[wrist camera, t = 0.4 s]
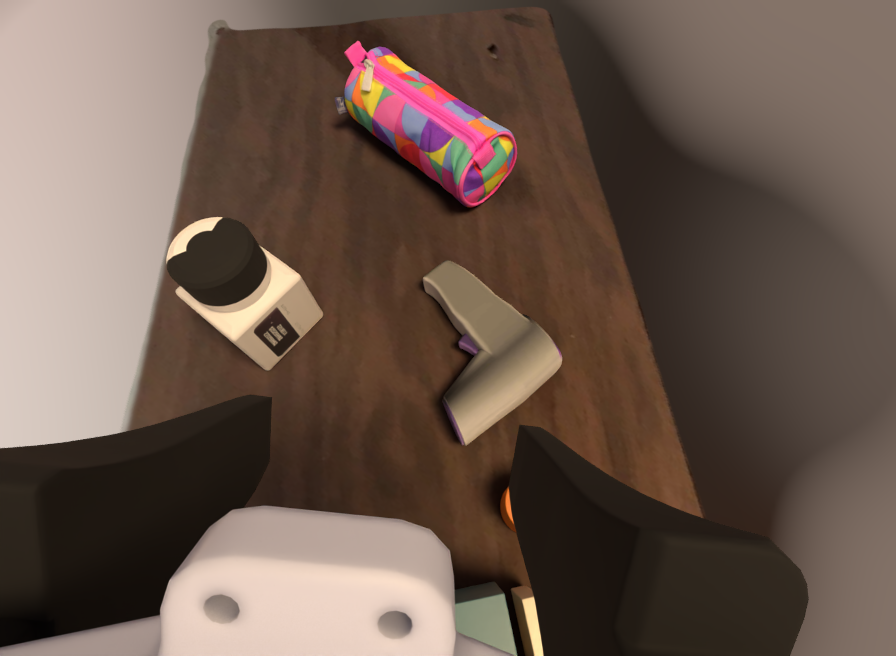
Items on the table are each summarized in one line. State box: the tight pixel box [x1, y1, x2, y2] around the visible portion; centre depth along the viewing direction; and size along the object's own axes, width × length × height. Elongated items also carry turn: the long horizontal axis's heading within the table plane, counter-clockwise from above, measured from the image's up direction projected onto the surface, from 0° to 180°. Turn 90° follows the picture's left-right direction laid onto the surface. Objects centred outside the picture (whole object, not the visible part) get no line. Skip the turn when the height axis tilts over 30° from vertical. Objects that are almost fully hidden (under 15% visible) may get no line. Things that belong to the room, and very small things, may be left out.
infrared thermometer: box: [423, 260, 562, 446], centre depth 41 cm, size 5×12×15 cm
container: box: [166, 217, 323, 371], centre depth 39 cm, size 8×8×13 cm
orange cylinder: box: [500, 486, 516, 532], centre depth 34 cm, size 4×4×6 cm
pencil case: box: [335, 41, 517, 207], centre depth 50 cm, size 22×9×9 cm, turn 45°
